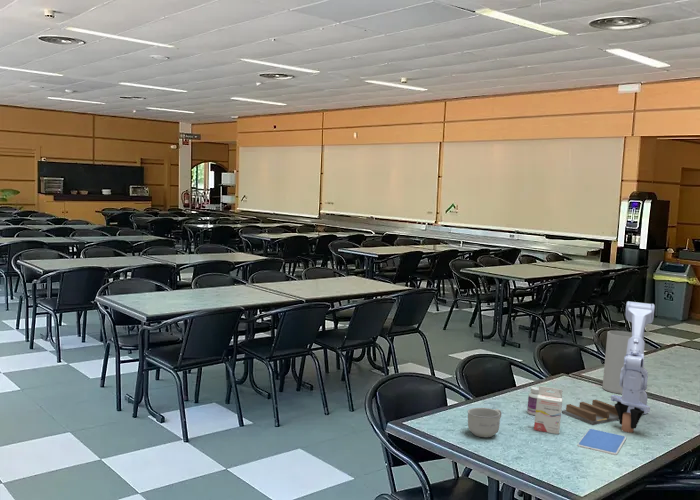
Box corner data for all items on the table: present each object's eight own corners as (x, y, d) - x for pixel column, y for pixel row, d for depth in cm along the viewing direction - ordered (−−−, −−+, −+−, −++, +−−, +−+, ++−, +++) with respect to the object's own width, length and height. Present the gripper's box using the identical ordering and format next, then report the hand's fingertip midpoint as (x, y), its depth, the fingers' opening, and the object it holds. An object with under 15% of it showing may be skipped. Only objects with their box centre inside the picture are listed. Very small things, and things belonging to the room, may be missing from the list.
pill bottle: (542, 416, 248) (544, 391, 248) (527, 414, 250) (529, 389, 249) (541, 412, 254) (543, 387, 253) (526, 410, 255) (528, 385, 254)
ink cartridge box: (533, 430, 233) (537, 389, 231) (534, 426, 237) (537, 385, 236) (559, 434, 230) (563, 392, 229) (559, 430, 235) (563, 389, 233)
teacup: (479, 442, 219) (481, 418, 218) (459, 430, 228) (461, 407, 227) (512, 437, 225) (514, 413, 224) (491, 426, 235) (493, 403, 234)
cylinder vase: (599, 385, 297) (604, 329, 295) (628, 387, 295) (634, 332, 293) (606, 393, 285) (611, 335, 283) (636, 396, 283) (642, 337, 281)
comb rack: (594, 407, 264) (595, 398, 264) (625, 418, 252) (626, 409, 252) (561, 413, 254) (562, 404, 254) (592, 425, 242) (593, 415, 242)
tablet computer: (616, 457, 214) (616, 453, 213) (576, 447, 220) (576, 443, 220) (626, 440, 230) (626, 436, 230) (588, 431, 237) (588, 427, 236)
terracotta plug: (626, 427, 241) (627, 411, 241) (635, 431, 238) (637, 415, 237) (618, 429, 239) (620, 413, 238) (628, 433, 236) (630, 416, 235)
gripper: (606, 384, 241) (603, 421, 242) (642, 395, 229) (638, 434, 230) (619, 382, 245) (615, 418, 246) (655, 393, 233) (651, 431, 234)
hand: (627, 426), depth 238 cm, fingers closed on terracotta plug, 4 cm apart
